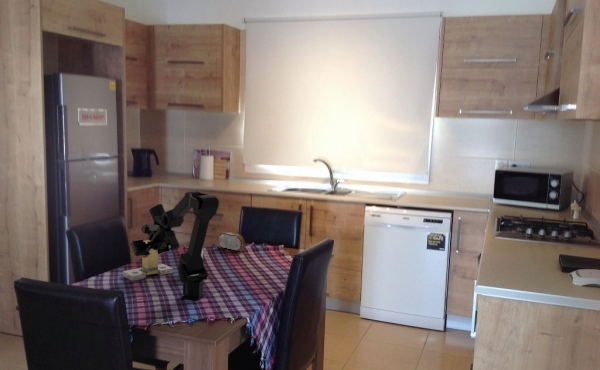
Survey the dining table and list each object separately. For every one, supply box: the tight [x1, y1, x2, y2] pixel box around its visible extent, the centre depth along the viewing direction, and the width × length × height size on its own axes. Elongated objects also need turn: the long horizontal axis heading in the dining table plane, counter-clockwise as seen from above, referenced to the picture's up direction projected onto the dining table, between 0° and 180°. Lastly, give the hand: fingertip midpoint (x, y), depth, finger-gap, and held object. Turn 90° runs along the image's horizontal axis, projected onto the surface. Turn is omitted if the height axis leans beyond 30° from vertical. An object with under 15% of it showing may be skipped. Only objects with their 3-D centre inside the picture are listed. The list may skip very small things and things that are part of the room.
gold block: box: [141, 239, 159, 276], centre depth 214 cm, size 5×5×13 cm
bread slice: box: [218, 231, 246, 252], centre depth 261 cm, size 15×3×8 cm, turn 58°
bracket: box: [122, 263, 174, 282], centre depth 216 cm, size 8×18×2 cm, turn 134°
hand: (148, 256), depth 215 cm, fingers closed on gold block, 4 cm apart
